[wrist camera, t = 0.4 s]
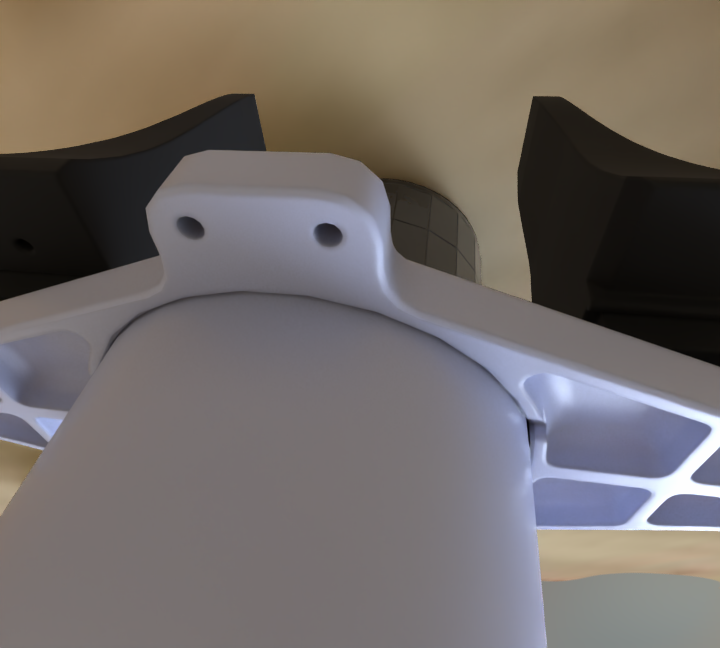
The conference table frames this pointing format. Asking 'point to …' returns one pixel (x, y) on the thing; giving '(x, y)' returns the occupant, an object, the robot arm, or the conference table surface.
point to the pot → (432, 231)
